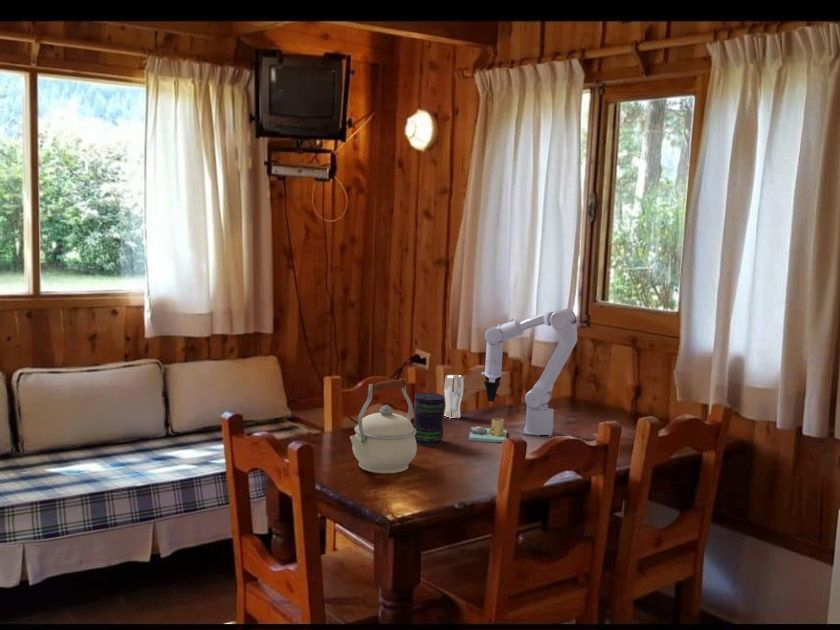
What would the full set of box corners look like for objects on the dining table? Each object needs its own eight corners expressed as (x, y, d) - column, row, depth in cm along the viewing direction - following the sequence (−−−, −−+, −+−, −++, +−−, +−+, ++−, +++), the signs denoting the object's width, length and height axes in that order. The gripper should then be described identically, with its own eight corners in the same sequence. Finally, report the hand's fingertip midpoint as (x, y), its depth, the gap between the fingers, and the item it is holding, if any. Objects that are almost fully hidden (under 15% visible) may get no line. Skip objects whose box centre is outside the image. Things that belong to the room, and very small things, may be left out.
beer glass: (462, 415, 304) (464, 375, 303) (461, 419, 298) (463, 378, 296) (443, 413, 305) (445, 374, 303) (441, 418, 298) (444, 377, 297)
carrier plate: (506, 432, 282) (507, 421, 282) (505, 443, 268) (506, 431, 268) (471, 429, 284) (472, 418, 283) (468, 440, 270) (469, 428, 269)
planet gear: (505, 432, 278) (505, 418, 277) (504, 436, 273) (505, 422, 272) (489, 431, 279) (489, 417, 278) (488, 435, 273) (489, 420, 273)
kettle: (385, 452, 250) (389, 371, 248) (432, 466, 239) (437, 381, 236) (325, 468, 231) (329, 381, 228) (374, 484, 220) (378, 392, 217)
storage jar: (422, 435, 272) (424, 391, 270) (448, 441, 267) (450, 396, 266) (406, 442, 264) (408, 396, 262) (432, 447, 259) (435, 400, 257)
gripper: (483, 356, 297) (481, 393, 298) (481, 363, 283) (479, 402, 284) (502, 358, 296) (500, 395, 298) (502, 364, 282) (499, 403, 283)
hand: (491, 398), depth 291 cm, fingers open, 7 cm apart
